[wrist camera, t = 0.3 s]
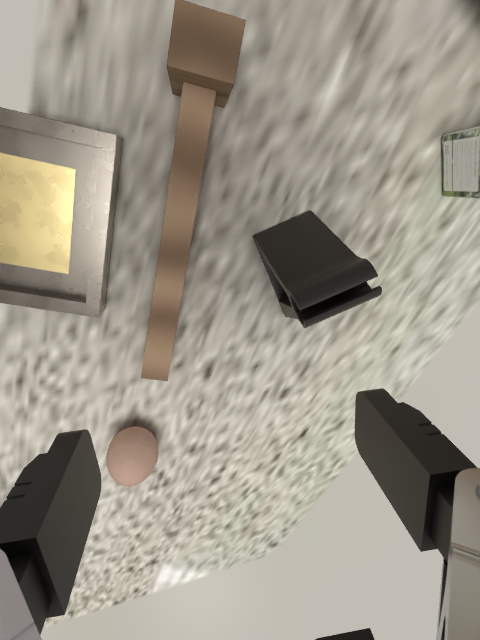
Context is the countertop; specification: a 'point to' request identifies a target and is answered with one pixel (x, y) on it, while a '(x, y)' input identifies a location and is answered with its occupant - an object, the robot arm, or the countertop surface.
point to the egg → (132, 456)
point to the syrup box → (461, 163)
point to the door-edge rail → (188, 157)
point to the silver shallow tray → (56, 213)
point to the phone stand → (314, 270)
